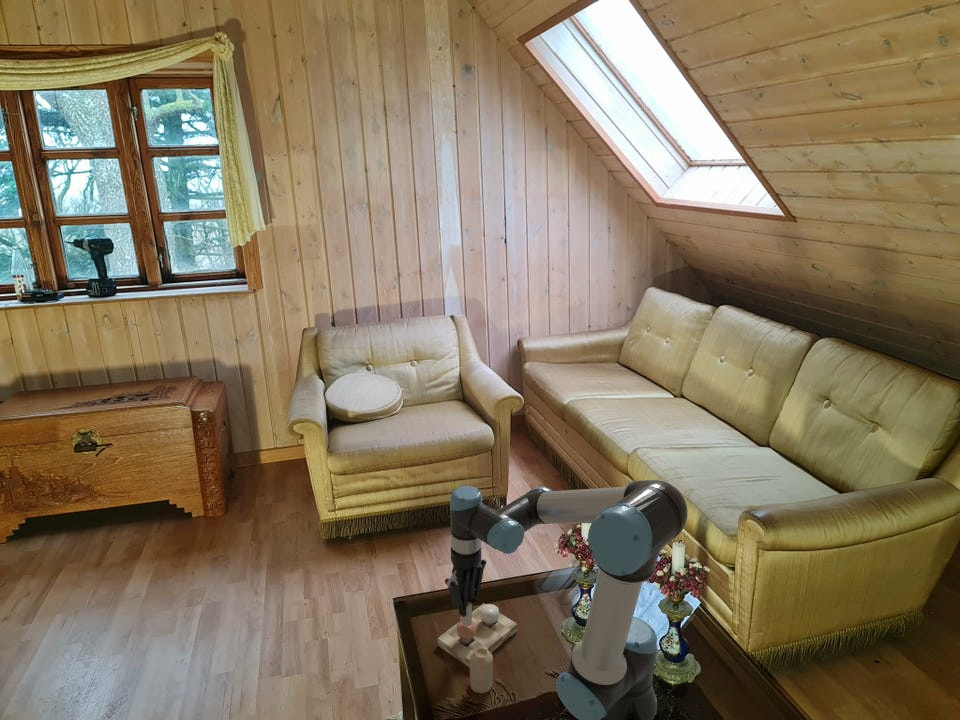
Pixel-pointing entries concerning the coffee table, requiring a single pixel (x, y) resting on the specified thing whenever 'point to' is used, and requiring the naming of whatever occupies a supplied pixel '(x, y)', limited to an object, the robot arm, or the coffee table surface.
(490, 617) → the white round piece
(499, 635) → the cream compartment tray
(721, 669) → the coffee table surface
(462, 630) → the pink light bulb
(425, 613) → the coffee table surface
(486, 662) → the cream bottle
